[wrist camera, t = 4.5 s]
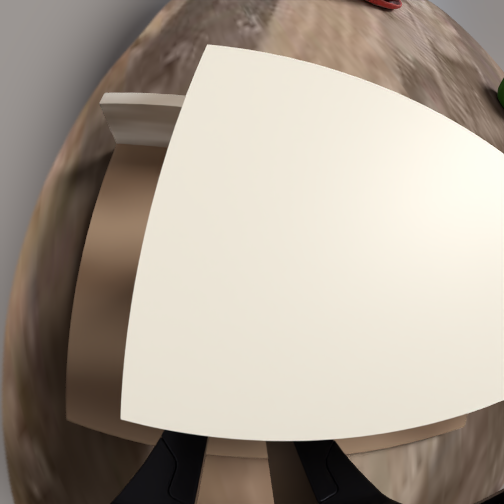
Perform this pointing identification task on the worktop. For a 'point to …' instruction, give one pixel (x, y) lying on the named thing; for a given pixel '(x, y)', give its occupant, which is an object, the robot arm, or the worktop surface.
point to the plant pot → (387, 3)
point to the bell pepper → (501, 93)
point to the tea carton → (315, 261)
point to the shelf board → (123, 280)
